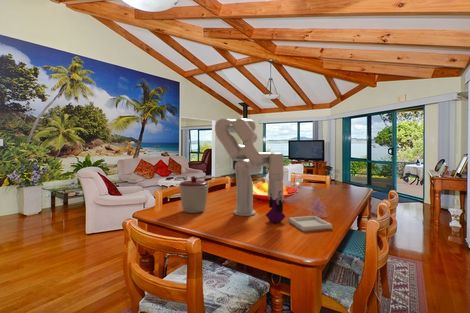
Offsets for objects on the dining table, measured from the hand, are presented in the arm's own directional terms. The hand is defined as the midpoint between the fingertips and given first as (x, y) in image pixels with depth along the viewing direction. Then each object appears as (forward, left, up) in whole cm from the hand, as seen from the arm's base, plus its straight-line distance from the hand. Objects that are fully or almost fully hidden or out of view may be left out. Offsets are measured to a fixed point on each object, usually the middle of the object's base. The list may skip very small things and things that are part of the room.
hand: (275, 209), depth 133 cm
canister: (-31, -39, -7) cm, 50 cm away
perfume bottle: (0, 0, -7) cm, 7 cm away
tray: (+10, +14, -6) cm, 18 cm away
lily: (-4, +27, -7) cm, 28 cm away
